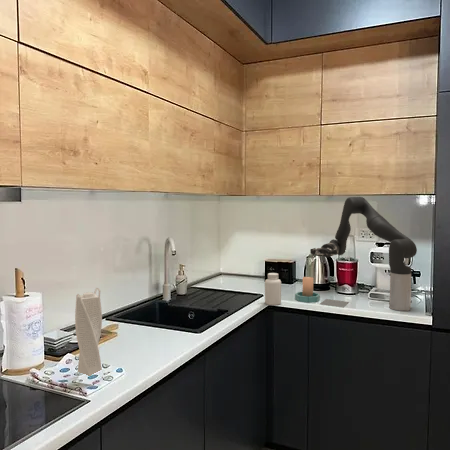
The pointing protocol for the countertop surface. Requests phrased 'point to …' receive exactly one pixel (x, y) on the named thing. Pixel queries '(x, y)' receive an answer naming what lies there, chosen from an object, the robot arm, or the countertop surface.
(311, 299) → the bowl
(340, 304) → the mat
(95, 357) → the skyscraper
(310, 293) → the canister
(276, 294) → the pill bottle
